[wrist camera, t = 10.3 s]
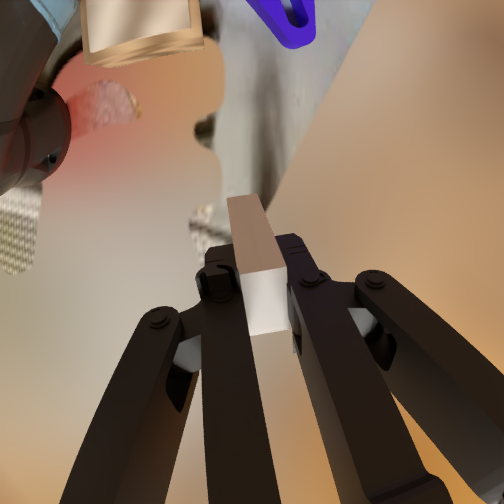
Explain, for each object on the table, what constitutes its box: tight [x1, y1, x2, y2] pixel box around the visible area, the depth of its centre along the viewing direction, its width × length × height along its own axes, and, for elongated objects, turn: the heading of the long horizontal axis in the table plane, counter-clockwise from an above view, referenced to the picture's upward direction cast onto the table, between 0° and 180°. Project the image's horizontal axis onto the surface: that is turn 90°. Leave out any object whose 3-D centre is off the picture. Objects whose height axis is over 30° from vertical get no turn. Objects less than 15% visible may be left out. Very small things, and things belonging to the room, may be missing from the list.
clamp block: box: [80, 0, 204, 68], centre depth 24 cm, size 12×9×11 cm
